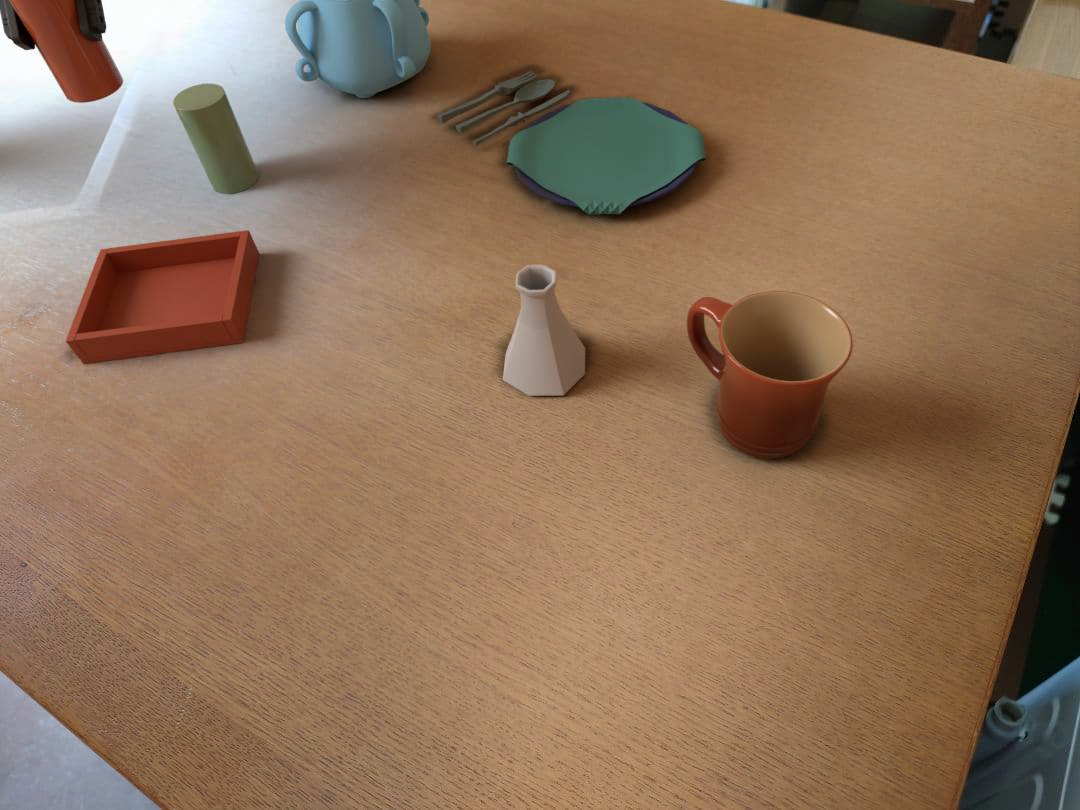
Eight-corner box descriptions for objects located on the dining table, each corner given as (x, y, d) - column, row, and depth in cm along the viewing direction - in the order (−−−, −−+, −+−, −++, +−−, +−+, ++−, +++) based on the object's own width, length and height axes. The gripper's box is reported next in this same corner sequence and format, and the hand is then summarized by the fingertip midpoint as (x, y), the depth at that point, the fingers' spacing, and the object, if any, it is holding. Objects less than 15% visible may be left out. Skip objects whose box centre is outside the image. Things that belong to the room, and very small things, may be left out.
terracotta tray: (82, 364, 70) (64, 341, 68) (115, 272, 78) (100, 249, 76) (243, 342, 70) (231, 319, 68) (259, 253, 78) (249, 229, 76)
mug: (843, 422, 60) (878, 329, 52) (778, 494, 56) (805, 405, 49) (716, 348, 66) (730, 254, 58) (650, 408, 62) (655, 317, 54)
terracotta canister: (59, 106, 70) (-11, -9, 62) (73, 77, 73) (9, -36, 66) (116, 98, 70) (54, -17, 62) (128, 70, 73) (71, -44, 66)
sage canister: (208, 196, 85) (168, 113, 78) (216, 169, 89) (177, 86, 81) (256, 190, 85) (220, 106, 78) (261, 163, 89) (227, 80, 81)
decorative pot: (290, 106, 96) (250, -7, 86) (333, 42, 106) (302, -67, 95) (416, 110, 94) (391, -7, 83) (448, 44, 103) (429, -68, 93)
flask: (521, 328, 69) (510, 239, 61) (598, 346, 67) (597, 256, 59) (489, 387, 65) (472, 299, 57) (570, 408, 63) (564, 320, 55)
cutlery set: (602, 249, 75) (602, 230, 73) (423, 132, 90) (419, 114, 88) (738, 161, 82) (740, 142, 80) (551, 66, 98) (550, 48, 96)
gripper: (-105, -187, 61) (-58, 37, 63) (79, -209, 61) (120, 14, 63) (-37, -131, 68) (3, 68, 70) (126, -151, 69) (162, 47, 70)
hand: (58, 41), depth 67 cm, fingers closed on terracotta canister, 5 cm apart
